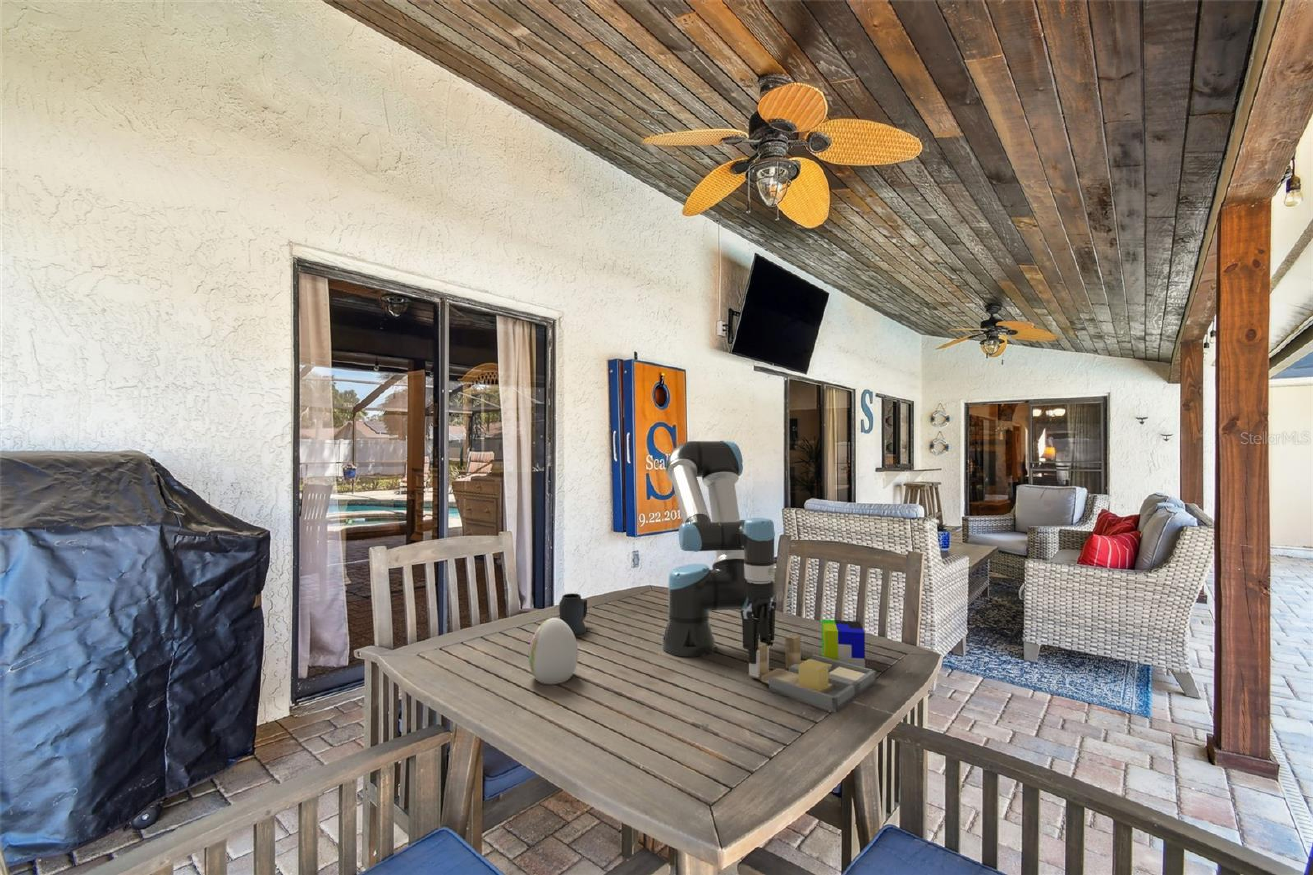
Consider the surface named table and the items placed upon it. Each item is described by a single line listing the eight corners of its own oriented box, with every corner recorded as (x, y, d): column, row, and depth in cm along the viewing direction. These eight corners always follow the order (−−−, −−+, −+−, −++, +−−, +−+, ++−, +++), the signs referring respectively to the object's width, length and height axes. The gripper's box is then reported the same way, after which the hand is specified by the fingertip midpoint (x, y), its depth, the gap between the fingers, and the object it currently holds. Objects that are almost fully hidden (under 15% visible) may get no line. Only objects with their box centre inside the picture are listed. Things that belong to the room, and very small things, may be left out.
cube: (798, 686, 138) (798, 664, 138) (809, 679, 142) (809, 658, 142) (818, 692, 135) (818, 670, 135) (828, 685, 139) (828, 664, 139)
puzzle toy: (864, 671, 153) (864, 632, 153) (824, 668, 155) (824, 630, 155) (859, 657, 163) (859, 621, 163) (822, 655, 165) (821, 619, 165)
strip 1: (746, 679, 147) (746, 647, 147) (763, 670, 152) (763, 639, 152) (817, 702, 134) (817, 667, 134) (833, 691, 139) (833, 657, 139)
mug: (574, 637, 179) (574, 600, 179) (550, 633, 183) (550, 597, 184) (596, 627, 190) (596, 592, 190) (573, 623, 194) (573, 588, 194)
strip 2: (781, 669, 153) (781, 638, 153) (796, 661, 159) (796, 631, 159) (817, 680, 146) (817, 648, 146) (832, 671, 152) (831, 640, 152)
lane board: (768, 690, 141) (768, 678, 141) (813, 665, 157) (813, 653, 157) (835, 712, 129) (835, 698, 129) (876, 682, 145) (876, 670, 145)
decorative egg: (548, 665, 157) (548, 609, 157) (587, 673, 151) (587, 615, 151) (518, 682, 146) (518, 621, 146) (559, 691, 140) (559, 628, 140)
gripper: (753, 588, 140) (753, 687, 140) (788, 577, 153) (788, 667, 152) (727, 583, 145) (727, 679, 145) (763, 572, 158) (763, 660, 157)
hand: (758, 673), depth 149 cm, fingers closed on strip 1, 4 cm apart
